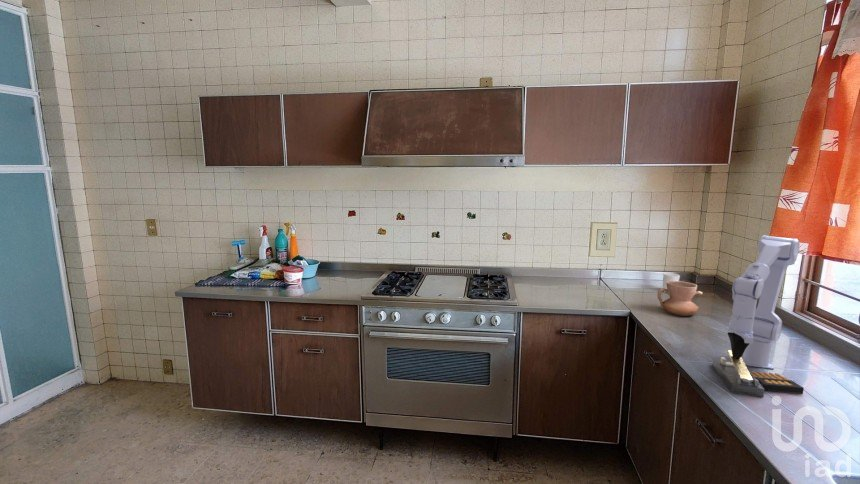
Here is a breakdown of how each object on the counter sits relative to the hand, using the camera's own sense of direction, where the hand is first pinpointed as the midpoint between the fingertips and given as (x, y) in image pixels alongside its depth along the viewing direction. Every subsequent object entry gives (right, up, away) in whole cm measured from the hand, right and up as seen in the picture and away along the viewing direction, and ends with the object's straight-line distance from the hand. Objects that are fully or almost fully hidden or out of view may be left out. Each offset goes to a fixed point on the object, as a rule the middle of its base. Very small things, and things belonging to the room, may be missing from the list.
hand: (736, 356), depth 135 cm
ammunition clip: (+8, -8, -8) cm, 14 cm away
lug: (+1, -4, +4) cm, 6 cm away
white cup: (+34, +9, +97) cm, 103 cm away
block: (-1, -7, -1) cm, 7 cm away
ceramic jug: (+18, +3, +63) cm, 65 cm away
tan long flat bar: (-1, -3, -3) cm, 4 cm away
